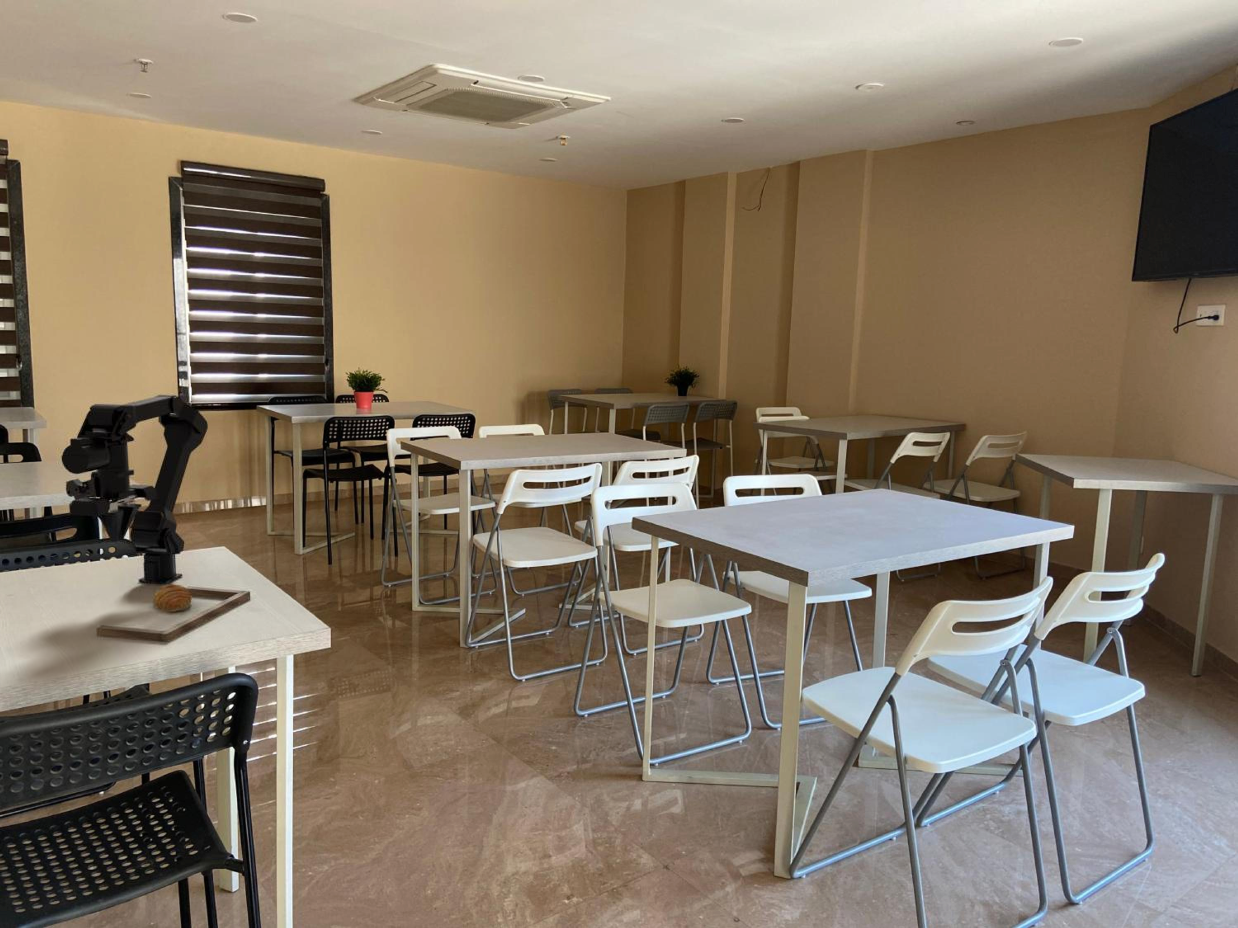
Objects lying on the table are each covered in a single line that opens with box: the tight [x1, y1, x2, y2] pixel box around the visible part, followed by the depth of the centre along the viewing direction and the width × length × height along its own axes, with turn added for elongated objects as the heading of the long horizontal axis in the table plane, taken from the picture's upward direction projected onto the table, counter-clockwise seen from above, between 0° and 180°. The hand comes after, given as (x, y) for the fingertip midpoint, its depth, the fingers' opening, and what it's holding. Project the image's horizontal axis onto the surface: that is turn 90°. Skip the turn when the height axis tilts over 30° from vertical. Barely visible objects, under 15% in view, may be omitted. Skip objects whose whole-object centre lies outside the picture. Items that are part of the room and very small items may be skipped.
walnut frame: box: [96, 585, 251, 643], centre depth 176 cm, size 27×14×2 cm, turn 171°
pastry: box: [152, 583, 193, 613], centre depth 181 cm, size 9×7×4 cm
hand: (117, 540), depth 184 cm, fingers closed
